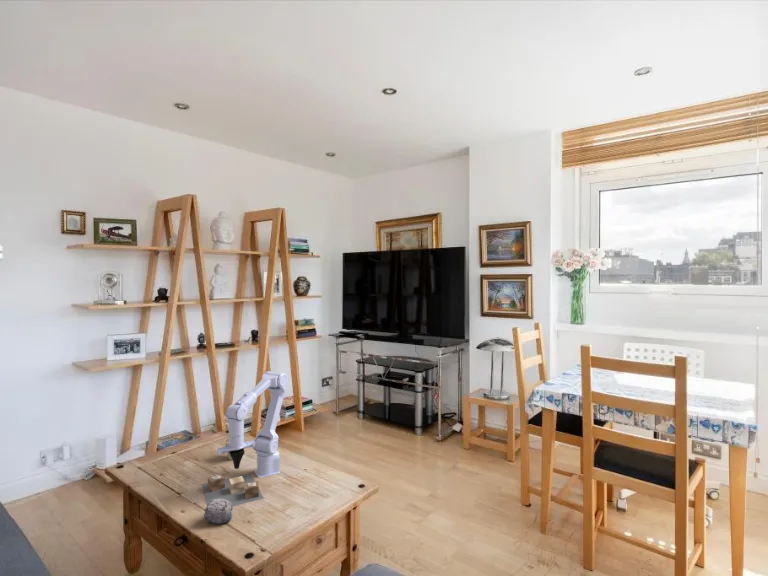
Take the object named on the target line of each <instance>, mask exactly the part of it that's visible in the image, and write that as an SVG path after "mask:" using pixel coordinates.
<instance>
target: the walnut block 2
mask: <svg viewBox="0 0 768 576" xmlns="http://www.w3.org/2000/svg"><path fill="white" fill-rule="evenodd" d="M259 490H260V486H259V480H255V481H254V482H248V483H245V499H249V498H255V497H259Z"/></svg>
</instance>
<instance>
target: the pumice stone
mask: <svg viewBox="0 0 768 576" xmlns="http://www.w3.org/2000/svg"><path fill="white" fill-rule="evenodd" d="M232 511H233V506H232V503H230V501H228V500H226V499H213V500H211V501H210V502H209V503H208V505H207V504H206V507H205V509H204V514H203V517H204V518H205V520H206V521H207V522H209V523H211V524H214V525H215V524H216V525H218V524H226V523H228V522H230V521H231V520H232V518H233V513H232Z"/></svg>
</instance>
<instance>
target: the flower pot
mask: <svg viewBox="0 0 768 576" xmlns="http://www.w3.org/2000/svg"><path fill="white" fill-rule="evenodd" d="M244 442H246V437H244ZM227 445H229V437H227V438H225V439H224V446H227ZM227 459H228V460H230V461H233V460H232V457H231V455H230V453H229V452H227Z"/></svg>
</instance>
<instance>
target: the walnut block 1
mask: <svg viewBox="0 0 768 576" xmlns="http://www.w3.org/2000/svg"><path fill="white" fill-rule="evenodd" d="M225 479H226V478H225V477H224V476H223V475H222V474H221V473H218V474H214V475H212V476H209V477H207V483H208V488H209V489H210V490H211V491H212V492H214V491H217V490H219V489H222V488H225Z"/></svg>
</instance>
